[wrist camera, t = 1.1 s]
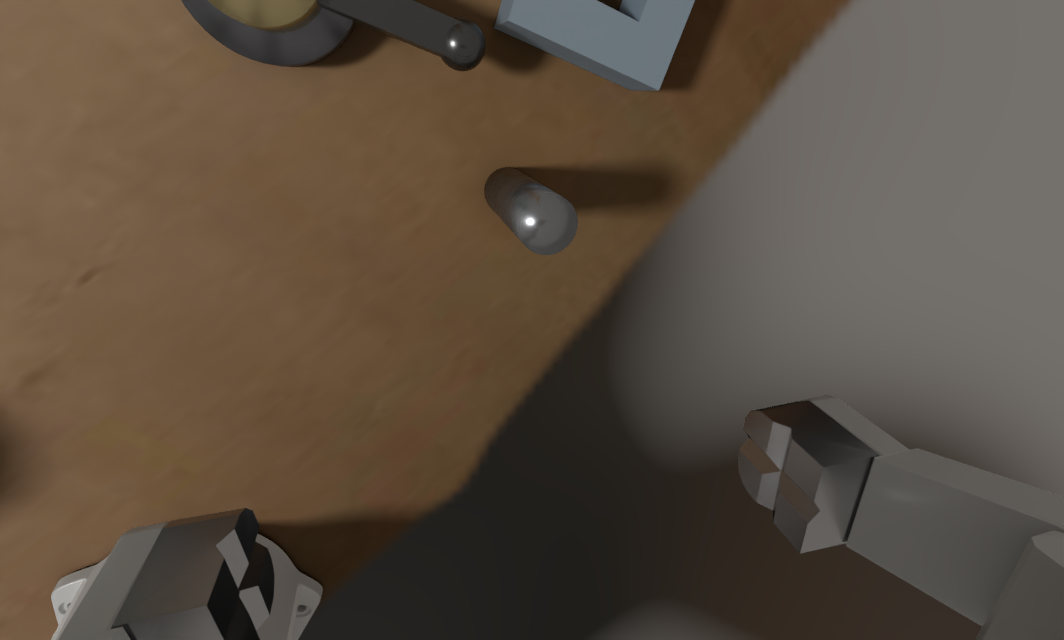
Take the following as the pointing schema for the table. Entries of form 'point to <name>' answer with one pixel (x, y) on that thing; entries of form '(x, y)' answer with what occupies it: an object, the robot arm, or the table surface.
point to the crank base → (275, 36)
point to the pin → (531, 211)
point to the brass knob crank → (372, 23)
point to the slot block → (602, 35)
